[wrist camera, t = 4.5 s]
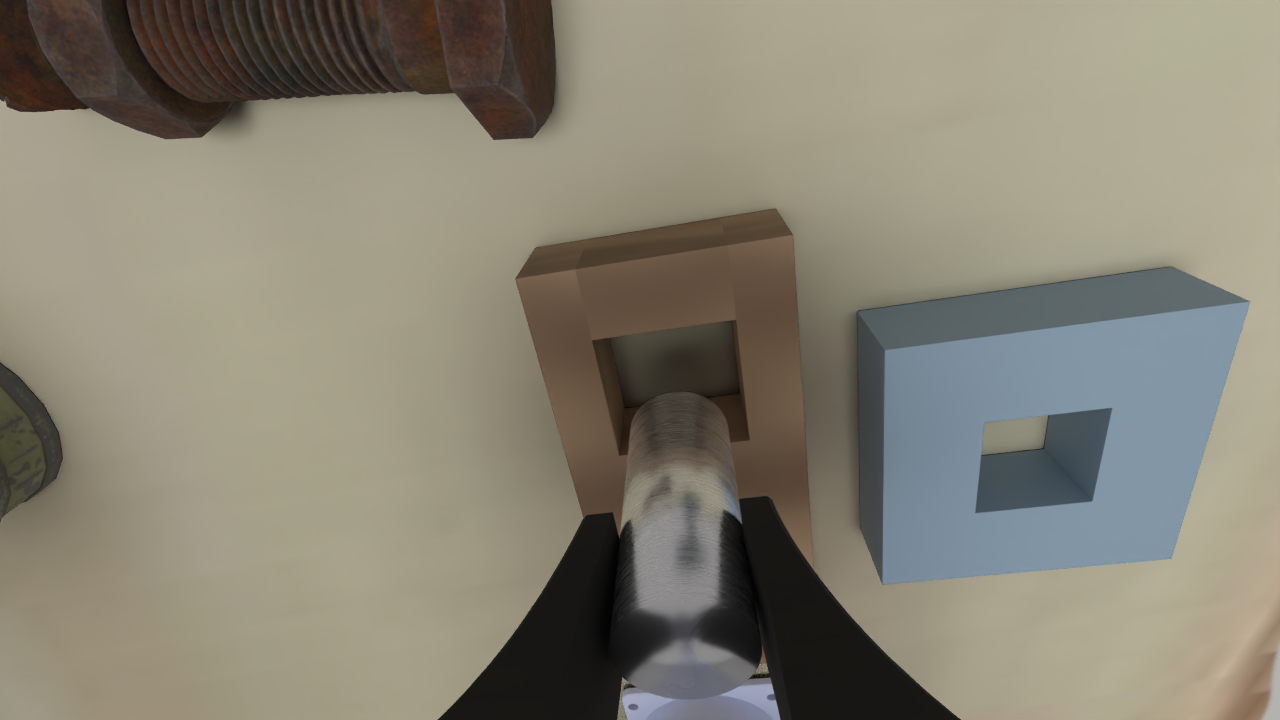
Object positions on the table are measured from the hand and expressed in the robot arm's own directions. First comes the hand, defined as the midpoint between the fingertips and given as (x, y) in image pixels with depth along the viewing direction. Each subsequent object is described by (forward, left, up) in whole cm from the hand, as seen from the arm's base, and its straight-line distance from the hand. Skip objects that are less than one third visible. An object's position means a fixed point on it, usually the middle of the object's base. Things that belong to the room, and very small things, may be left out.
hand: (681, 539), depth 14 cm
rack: (-5, 0, -9) cm, 10 cm away
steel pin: (0, 0, -4) cm, 4 cm away
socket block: (-5, -11, -9) cm, 15 cm away
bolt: (+12, +9, -10) cm, 18 cm away
